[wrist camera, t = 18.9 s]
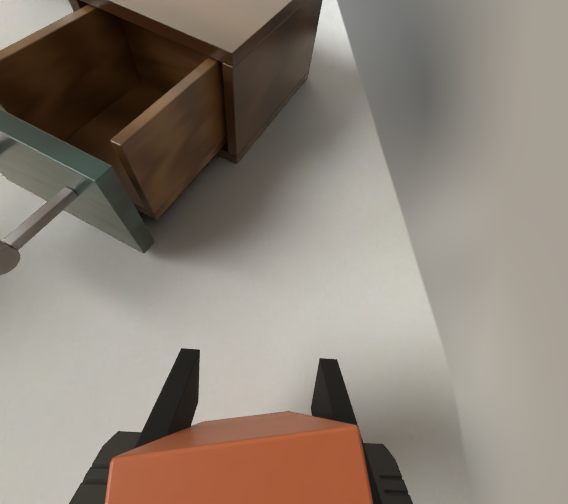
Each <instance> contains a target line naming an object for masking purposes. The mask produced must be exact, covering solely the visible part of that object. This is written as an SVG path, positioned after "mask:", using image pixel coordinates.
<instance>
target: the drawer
mask: <svg viewBox="0 0 568 504" xmlns="http://www.w3.org/2000/svg"><path fill="white" fill-rule="evenodd" d="M226 142H227V127H226V113H225V99H224V85H223V71H222V62H220V61H218V60H216V59H214V58H211V57H209V56H207V55H204V54H202V53H200V52H198V51H195V50H193V49H191V48H188V47H186V46H184V45H181V44H179V43H177V42H175V41H172V40H170V39H168V38H165V37H163V36H161V35H159V34H156V33H154V32H152V31H149V30H147V29H145V28H143V27H140V26H138V25H136V24H133V23H131V22H129V21H127V20H124V19H122V18H120V17H117V16H115V15H113V14H111V13H108V12H106V11H104V10H101V9H99V8H97V7H94V6H92V5H90V4H88V5H86V6H84V7H83V8H81V9H79V10H77V11H75V12H73V13H71V14H69V15H67V16H65V17H64V18H62V19H60V20H58V21H56V22H54V23H52V24H50V25H48V26H46V27H44V28H43V29H41V30H39V31H37V32H35V33H33V34H31V35H29V36H27V37H25V38H23V39H22V40H20V41H18V42H16V43H14V44H12V45H10V46H8V47H6V48H4V49H2V50H1V51H0V172H1V173H2V174H3V175H4V176H5V177H6V178H7V179H8V180H10V181H11V182H13V183H15V184H17V185H19V186H21V187H22V188H24V189H26V190H28V191H30V192H32V193H33V194H35V195H37V196H39V197H41V198H43V199H44V200H46V201H48V202H47V203H46V204H44V205H43V206H42V207H41V208H40V209H39V210H37V211H36V212H35V213H34V214H33V215H32V216H30V217H29V218H28V219H27V220H26V221H25V222H23V223H22V224H21V225H20V226H19V227H17V228H16V229H15V230H14V231H13V232H12V233H10V234H9V235H8V236H7V237H6V238H5V239H3V242H2V241H1V240H0V275H3V274H5V273H8V272H9V271H11V270H12V269H14V268H15V267H16V265H17V264H18V262H19V260H20V254H19V252H18V251H17V250H19V249H20V248H21V247H22V246H23V245H24V244H26V243H27V242H28V241H29V240H30V239H31V238H32V237H33V236H35V235H36V234H37V233H38V232H39V231H40V230H41V229H42V228H43V227H45V226H46V225H47V224H48V223H49V222H50V221H51V220H52V219H54V218H55V217H56V216H57V215H58V214H59V213H60V212H61V211H62V210H65V211H66V212H68V213H70V214H72V215H74V216H76V217H77V218H79V219H81V220H83V221H85V222H87V223H88V224H90V225H92V226H94V227H96V228H98V229H100V230H101V231H103V232H105V233H107V234H109V235H111V236H112V237H114V238H116V239H118V240H120V241H122V242H123V243H125V244H127V245H129V246H131V247H133V248H134V249H136V250H138V251H140V252H142V253H145V252H146V251H147V250H148V249H149V248H150V247H151V245H152V244H153V243H154V242H155V241H154V239H153V237H152V236H151V234H150V232H149V230H148V229H147V227H146V225H145V223H144V222H143V220H142V218H141V216H140V214H139V213H138V211H137V210H139V211H141V212H143V213H145V214H146V215H148V216H150V217H152V218H154V219H156V220H157V219H158V218H159V217H160V216H161V215H162V214H163V213H164V212H165V211H166V209H167V208H168V207H169V206H170V205H171V204H172V203H173V202H174V200H175V199H176V198H177V197H178V196H179V195H180V194H181V193H182V192H183V190H184V189H185V188H186V187H187V186H188V185H189V184H190V183H191V181H192V180H193V179H194V178H195V177H196V176H197V175H198V174H199V173H200V171H201V170H202V169H203V168H204V167H205V166H206V165H207V164H208V162H209V161H210V160H211V159H212V158H213V157H214V156H215V155H216V154H217V152H218V151H219V150H220V149H221V148H222V147H223V146H224V145H225V143H226ZM4 242H5V243H4Z"/></svg>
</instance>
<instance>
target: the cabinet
mask: <svg viewBox="0 0 568 504" xmlns="http://www.w3.org/2000/svg"><path fill="white" fill-rule="evenodd" d="M69 2H70V4H71V6H72V9H73V11H74V12H75V11H77V10H79V9H81V8H83V7H84V6H86V5H88V4H90V5H92V6H94V7H97V8H99V9H101V10H104V11H106V12H108V13H111V14H113V15H115V16H117V17H120V18H122V19H124V20H127V21H129V22H131V23H133V24H136V25H138V26H140V27H143V28H145V29H147V30H149V31H152V32H154V33H156V34H159V35H161V36H163V37H165V38H168V39H170V40H172V41H175V42H177V43H179V44H181V45H184V46H186V47H188V48H191V49H193V50H195V51H198V52H200V53H202V54H204V55H207V56H209V57H211V58H214V59H216V60H218V61H220V62H222V71H223V85H224V99H225V113H226V127H227V142H226V143H225V145H224V146H223V147H222V148H221V149H220V150H219V151H218V152H217V154H218V155H220V156H222V157H224V158H226V159H228V160H230V161H232V162H234V163H236V164H237V163H238V162H239V160H240V159H241V158H242V157H243V156H244V154H245V153H246V152H247V151H248V149H249V148H250V147H251V146H252V145H253V143H254V142H255V141H256V140H257V139H258V137H259V136H260V135H261V134H262V133H263V131H264V130H265V129H266V128H267V126H268V125H269V124H270V123H271V122H272V120H273V119H274V118H275V117H276V116H277V114H278V113H279V112H280V111H281V109H282V108H283V107H284V106H285V105H286V103H287V102H288V101H289V100H290V99H291V97H292V96H293V95H294V94H295V92H296V91H297V90H298V89H299V88H300V86H301V85H302V84H303V83H304V82H305V80H306V79H307V78H308V74H309V68H310V63H311V58H312V52H313V47H314V42H315V36H316V31H317V26H318V21H319V15H320V10H321V5H322V0H69Z"/></svg>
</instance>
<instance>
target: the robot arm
mask: <svg viewBox="0 0 568 504" xmlns="http://www.w3.org/2000/svg"><path fill="white" fill-rule="evenodd" d="M199 359H200V350H197V349H183V348H181V350H180V353H179V355H178V357H177V359H176V361H175V363H174V365H173V367H172V369H171V372H170V374H169V376H168V378H167V380H166V382H165V384H164V386H163V388H162V390H161V393H160V395H159V397H158V399H157V401H156V403H155V405H154V407H153V409H152V412H151V414H150V416H149V418H148V420H147V422H146V424H145V426H144V428H143V431H142V432H122V431H118V432H117V433H116V434H115V435H114V436H113V437H112V438H111V439H110V440H109V441H108V442H107V443H105V444H104V445H103V447H102V448H101V450H100V452H99V453H98V455H97V457H96V459H95V460H94V462H93V464H92V467H90V469H89V471H88V472H87V474H86V476H85V477H84V480H83V482H82V483H81V484H80V486H79V488H78V489H77V491H76V493H75V494H74V496H73V498H72V500H71V501H70V503H69V504H105V498H106V491H107V483H108V475H109V468H110V462H111V460H112V458H114V457H116V456H118V455H120V454H123V453H125V452H128V451H130V450H133V449H135V448H138V447H140V446H143V445H145V444H148V443H150V442H153V441H155V440H158V439H160V438H163V437H166V436H168V435H171V434H173V433H176V432H178V431H181V430H183V429H186V428H188V427H191V423H192V420H193V417H194V414H195V410H196V407H197V404H198V392H199ZM311 411H312V416H314V417H319V418H324V419H329V420H334V421H339V422H343V423H348V424H353V425H356V426H358V425H357V422H356V418H355V415H354V412H353V409H352V406H351V403H350V399H349V396H348V393H347V390H346V387H345V384H344V380H343V377H342V374H341V371H340V368H339V365H338V361H337V359H323V358H320V360H319V365H318V371H317V377H316V382H315V388H314V394H313V399H312V405H311ZM360 435H361V434H360ZM361 441H362V437H361ZM362 446H363V451H364V457H365V462H366V467H367V473H368V478H369V484H370V489H371V494H372V500H373V504H413V503H412V500H411V498H410V495H408V490H407V488H406V485H405V483H404V480H402V475H401V473H400V470H399V468H398V465H397V463H396V460H395V459H394V457H393V456H392V455H391V453H390V452H389V451H388V450H387V448H386V447H385V446H384V445H383V444H371V443H363V441H362Z"/></svg>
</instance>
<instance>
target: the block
mask: <svg viewBox="0 0 568 504" xmlns="http://www.w3.org/2000/svg"><path fill="white" fill-rule="evenodd" d="M105 504H373V500H372V494H371V489H370V484H369V478H368V473H367V467H366V462H365V457H364V451H363V446H362V441H361V435H360V430H359V428H358V426H356V425H353V424H348V423H343V422H339V421H334V420H329V419H324V418H319V417H314V416H309V415H304V414H300V413H295V412H290V411H286V412H278V413H270V414H262V415H253V416H245V417H237V418H229V419H220V420H212V421H204V422H201V423H198V424H196V425H193V426H191V427H188V428H186V429H183V430H181V431H178V432H176V433H173V434H171V435H168V436H166V437H163V438H160V439H158V440H155V441H153V442H150V443H148V444H145V445H143V446H140V447H138V448H135V449H133V450H130V451H128V452H125V453H123V454H120V455H118V456H116V457H114V458H112V460H111V462H110V468H109V475H108V483H107V491H106V498H105Z"/></svg>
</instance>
